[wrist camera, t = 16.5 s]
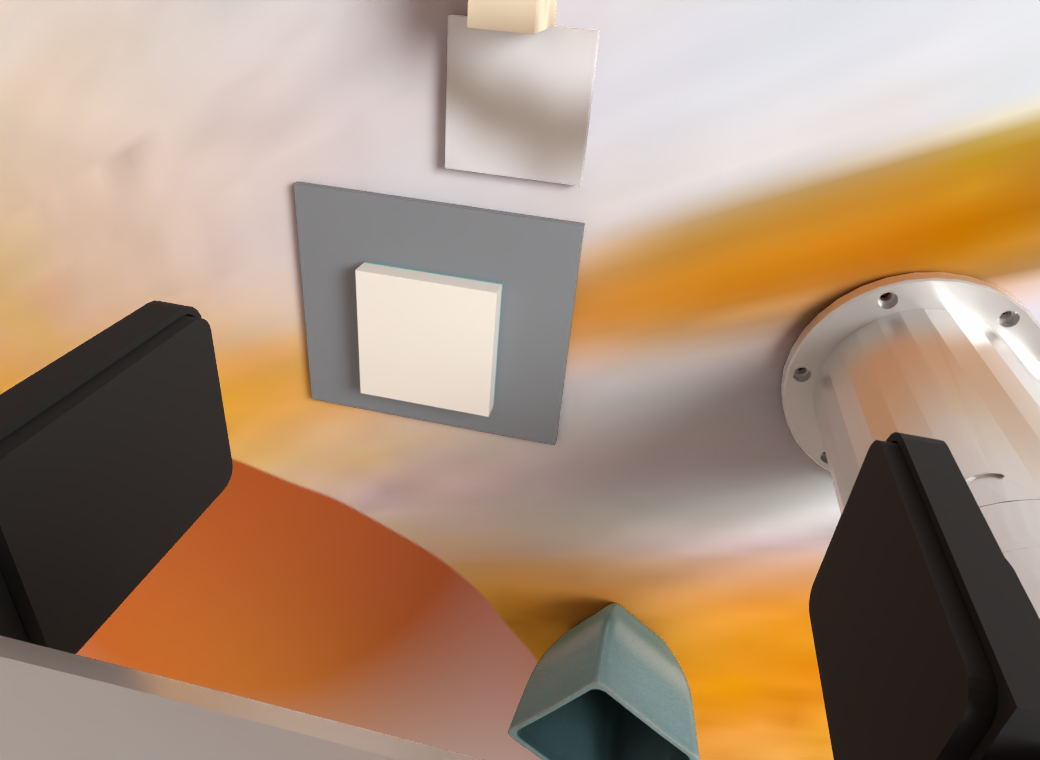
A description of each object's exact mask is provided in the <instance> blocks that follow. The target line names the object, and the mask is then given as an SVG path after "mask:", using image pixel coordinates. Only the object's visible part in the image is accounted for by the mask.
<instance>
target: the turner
mask: <svg viewBox="0 0 1040 760" xmlns="http://www.w3.org/2000/svg"><path fill="white" fill-rule="evenodd" d="M556 8H557V0H468V16H464V15H454V14H452V15H448V35H447V85H446V135H445V168H449V169H456V170H464V171H471V172H478V173H486V174H493V175H501V176H508V177H516V178H523V179H530V180H538V181H545V182H553V183H560V184H568V185H575V186H580V185H581V183H582V178H583V170H584V161H585V153H586V145H587V136H588V128H589V119H590V111H591V103H592V94H593V86H594V78H595V69H596V61H597V52H598V44H599V36H600V29H590V28H581V27H571V26H561V25H555V20H556Z"/></svg>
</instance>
